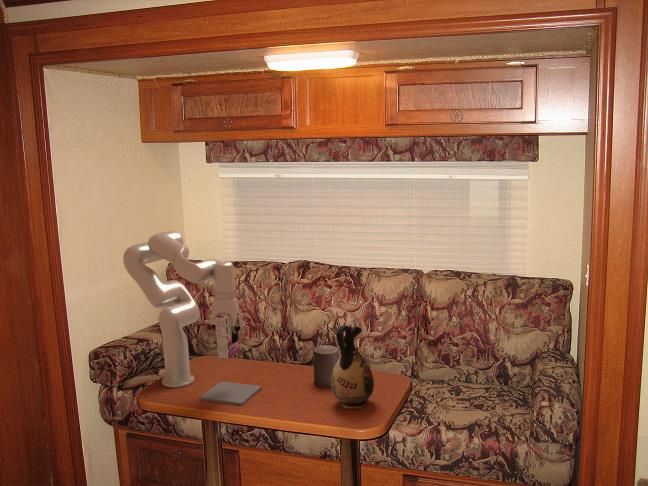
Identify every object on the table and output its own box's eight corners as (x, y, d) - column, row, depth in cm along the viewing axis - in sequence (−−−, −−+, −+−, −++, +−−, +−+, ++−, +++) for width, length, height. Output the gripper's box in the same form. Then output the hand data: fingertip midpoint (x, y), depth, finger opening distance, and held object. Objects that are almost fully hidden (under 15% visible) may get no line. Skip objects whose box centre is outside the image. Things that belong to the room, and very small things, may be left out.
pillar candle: (310, 385, 239) (309, 348, 236) (319, 376, 248) (318, 340, 245) (333, 388, 235) (332, 351, 233) (342, 379, 244) (341, 343, 242)
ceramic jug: (348, 391, 231) (346, 315, 227) (382, 401, 222) (381, 321, 217) (320, 407, 219) (316, 326, 214) (354, 418, 209) (352, 334, 204)
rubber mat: (199, 399, 229) (199, 397, 229) (221, 383, 244) (221, 381, 244) (242, 405, 223) (241, 403, 222) (261, 388, 237) (261, 386, 237)
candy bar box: (227, 348, 236) (224, 307, 234) (239, 349, 235) (237, 308, 233) (216, 359, 226) (214, 316, 223) (229, 359, 225) (227, 316, 222)
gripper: (199, 296, 226) (202, 343, 229) (240, 298, 220) (243, 347, 223) (210, 291, 233) (213, 336, 236) (250, 293, 227) (252, 340, 230)
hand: (227, 341), depth 230 cm, fingers closed on candy bar box, 5 cm apart
